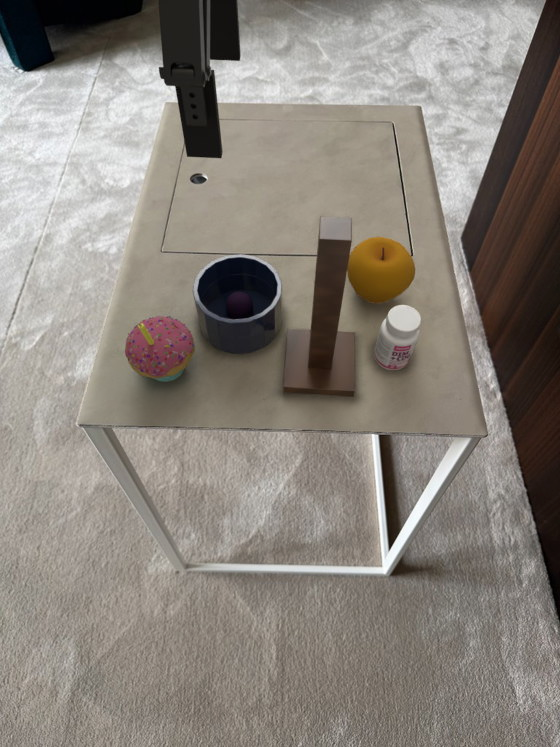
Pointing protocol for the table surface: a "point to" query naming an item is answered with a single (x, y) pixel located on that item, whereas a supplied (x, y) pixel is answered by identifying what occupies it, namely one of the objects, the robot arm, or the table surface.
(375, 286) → the apple
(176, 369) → the cupcake
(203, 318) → the pot
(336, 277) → the stand
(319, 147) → the table surface
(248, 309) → the purple plum
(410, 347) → the pill bottle
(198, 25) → the robot arm
